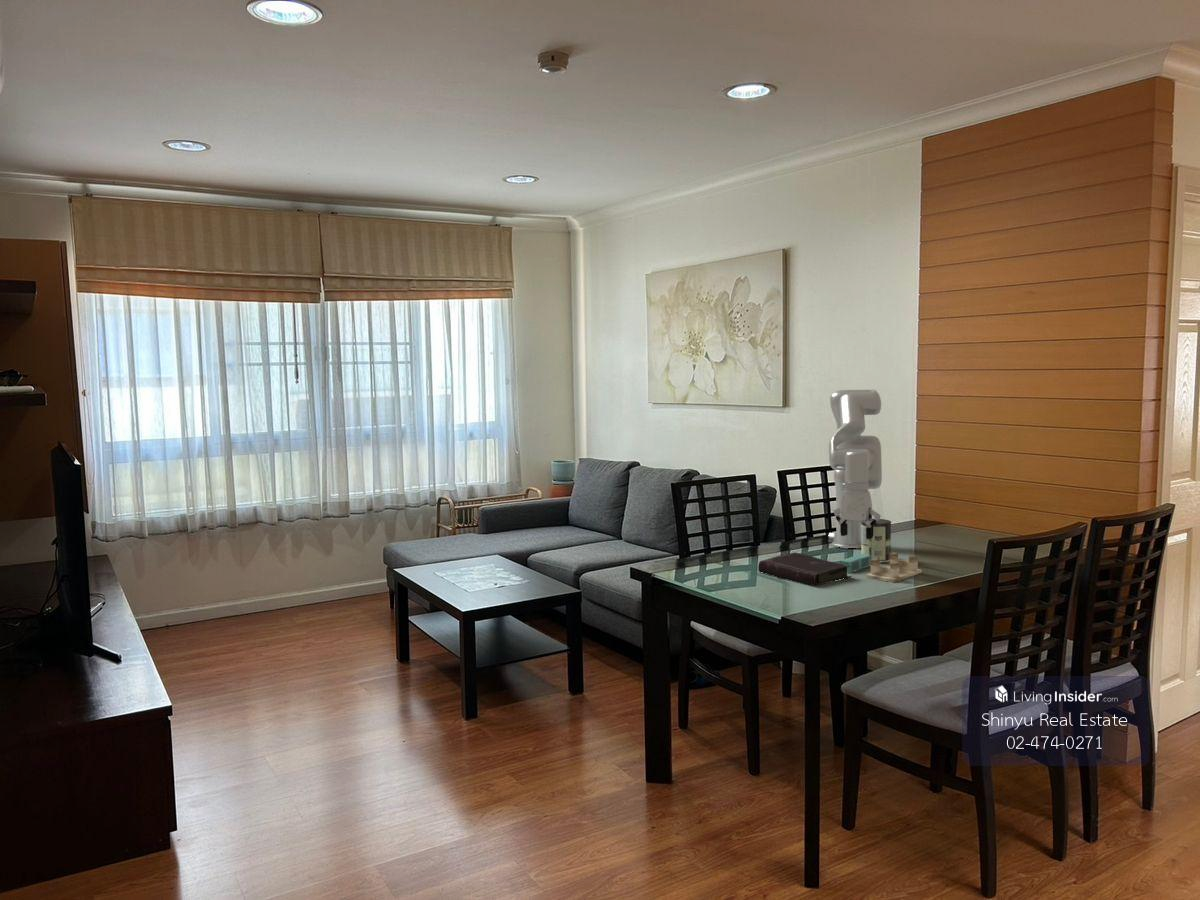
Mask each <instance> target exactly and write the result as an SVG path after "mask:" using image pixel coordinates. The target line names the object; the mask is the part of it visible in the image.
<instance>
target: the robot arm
mask: <svg viewBox="0 0 1200 900" xmlns="http://www.w3.org/2000/svg"><path fill="white" fill-rule="evenodd" d="M829 401H830V408H831V411H832V414H833V417H834V420H835V423H836V431H835V432H834V433H833V434H832V435H831V437H830V439H829V443H828V462H829V467H830V468H832V470H833V479H834V480H833V481H834V486H835V498H836V500H835V502H836V504H835V505H836V509H835V510H834V509H833V514H834V516H835V521H836V532H829V533H828V536H827V537H828V538H829V539H833V541H832V543H831V544H832V546H833V547H834V548H839V547H840V548H839V549H848V548H856V549H861V522H863V521H864V522H865V523H866V525H867V526H868V527H866V539H872V538H873V527H874V526H875V525H876V524H877V523H878V520H879V519H881V514H880V513H878V512H877V511H875V510H874V509H873V502H872V497H871V491H869V490H877V489H879V488H880V487H881V485H882V480H883V479H882V478H883V477H882V476H883V474H882V473H883V471H882V446H881V444H882V443H881V441H880V439H879V438H878V437H877V436H874V435H861V434H863V433H864V431H865V430H866V421H865V416H876V415H877V416H878V414H880V413H881V409H882V400H881V395H880V393H879V392H878V391H877V390H876V389H842V390H836V391H834V392H831V395H830V397H829ZM872 519H874V520H873V521H872Z"/></svg>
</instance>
